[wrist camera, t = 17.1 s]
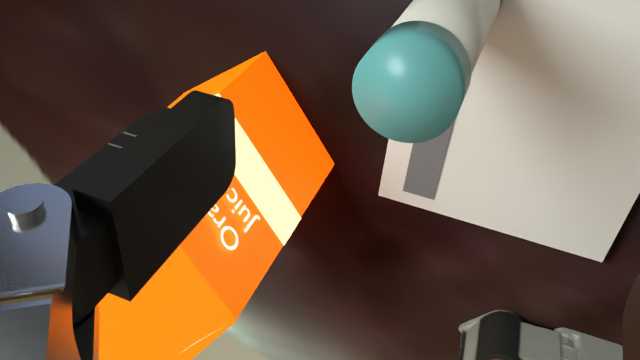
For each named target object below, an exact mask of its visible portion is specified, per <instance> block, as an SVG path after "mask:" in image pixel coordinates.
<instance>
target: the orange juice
mask: <svg viewBox="0 0 640 360" xmlns="http://www.w3.org/2000/svg"><path fill="white" fill-rule="evenodd" d="M194 90H197V91H201V92H204V93H208V94H211V95H215V96H219V97H222V98H226V99H229V100H231V101H232V103H233V105H234V112H235V146H236V168H235V173H234V177H233V180H232V182H231V184H230V186H229V188H228V190H227V191H226V192H225V194H224V195H223V196H222V197H221V198H220V199H219V201H218V202H217V203H216V204H215V205H214V206H213V207H212V209H211V210H210V211H209V212H208V213H207V214H206V216H205V217H204V218H203V219H202V220H201V221H200V222H199V224H198V225H197V226H196V227H195V228H194V229H193V230H192V232H191V233H190V234H189V235H188V236H187V237H186V239H185V240H184V241H183V242H182V243H181V244H180V245H179V247H178V248H177V249H176V250H175V251H174V252H173V254H172V255H171V256H170V257H169V258H168V259H167V260H166V262H165V263H164V264H163V265H162V266H161V267H160V268H159V270H158V271H157V272H156V273H155V274H154V275H153V277H152V278H151V279H150V280H149V281H148V282H147V283H146V285H145V286H144V287H143V288H142V289H141V290H140V291H139V293H138V294H137V295H136V296H135V297H134V298H133V300H132V301H131V302H130V301H127V300H125V299H122V298H120V297H117V296H115V295H112V294H110V293H108V294H107V295H106V296H105V297H104V298H103V299H102V300H101V301H100V302H99V303H98V306H99V311H100V326H99V360H191V359H193V358H194V357H195V356H196V355H197V354H198V353H199V352H201V351H202V350H203V349H204V348H205V347H206V346H208V345H209V344H210V343H211V342H212V341H214V340H215V339H216V338H217V337H218V336H219V335H221V334H222V333H223V332H224V331H225V330H226V329H228V328H229V327H230V326H231V325H232V324H234V323H235V322H236V321H237V320H236V319H237V318H238V316H239V314H240V313H241V311H242V310H243V308H244V307H245V305H246V303H247V302H248V300H249V299H250V297H251V295H252V294H253V292H254V291H255V289H256V288H257V286H258V284H259V283H260V281H261V280H262V278H263V277H264V275H265V273H266V272H267V270H268V269H269V267H270V265H271V264H272V262H273V261H274V259H275V258H276V256H277V254H278V253H279V251H280V250H281V248H282V247H283V246H284V245H285V244H286V242H287V240H288V239H289V237H290V236H291V234H292V233H293V231H294V229H295V228H296V226H297V225H298V223H299V221H300V220H301V216H302V215H303V213H304V212H305V210H306V209H307V207H308V205H309V204H310V202H311V201H312V199H313V198H314V196H315V194H316V193H317V191H318V190H319V188H320V186H321V185H322V183H323V182H324V180H325V179H326V177H327V175H328V174H329V172H330V171H331V169H332V168H333V166H334V162H333V161H332V159H331V157H330V156H329V154H328V152H327V151H326V149H325V147H324V146H323V144H322V143H321V141H320V139H319V138H318V136H317V134H316V133H315V131H314V129H313V128H312V126H311V125H310V123H309V121H308V120H307V118H306V116H305V115H304V113H303V111H302V110H301V108H300V107H299V105H298V103H297V102H296V100H295V98H294V97H293V95H292V93H291V92H290V90H289V89H288V87H287V85H286V84H285V82H284V80H283V79H282V77H281V75H280V74H279V72H278V71H277V69H276V67H275V66H274V64H273V62H272V61H271V59H270V57H269V56H268V54H267V53H266V51H265V52H263V53H261V54H259V55H257V56H255V57H253V58H251V59H249V60H247V61H246V62H244V63H242V64H240V65H238V66H236V67H234V68H232V69H230V70H228V71H226V72H224V73H222V74H220V75H218V76H216V77H214V78H212V79H210V80H208V81H206V82H204V83H203V84H201V85H199V86H197V87H195V88H193V89H191V90H189V91H187V92H185V93H184V94H183V95H181V96H180V97H179V98H178V99H177V100H175V101H174V102H173V103H172V104H171V105H169V106H168V107H167V108H171V107H173V106H174V105H175V104H176V103H178V102H179V101H180V100H181V99H182V98H184V97H185V96H186V95H187V94H189V93H190V92H191V91H194Z"/></svg>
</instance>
